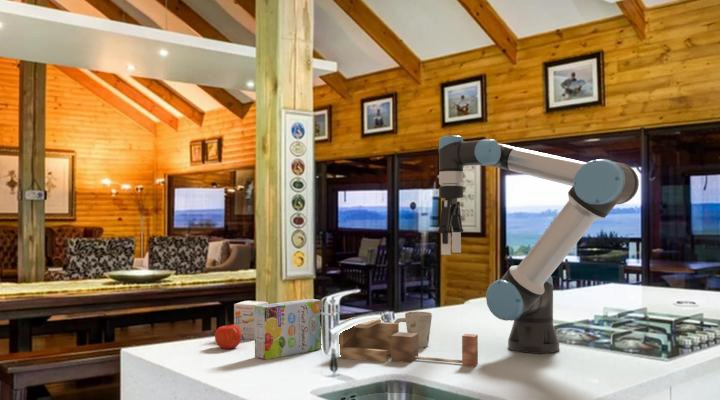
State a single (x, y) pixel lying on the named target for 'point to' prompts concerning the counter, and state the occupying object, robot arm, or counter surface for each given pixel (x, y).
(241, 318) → the ink box
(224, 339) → the apple
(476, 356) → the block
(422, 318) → the mug
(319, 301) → the snack box
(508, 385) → the counter surface
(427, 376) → the counter surface
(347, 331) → the cubby
